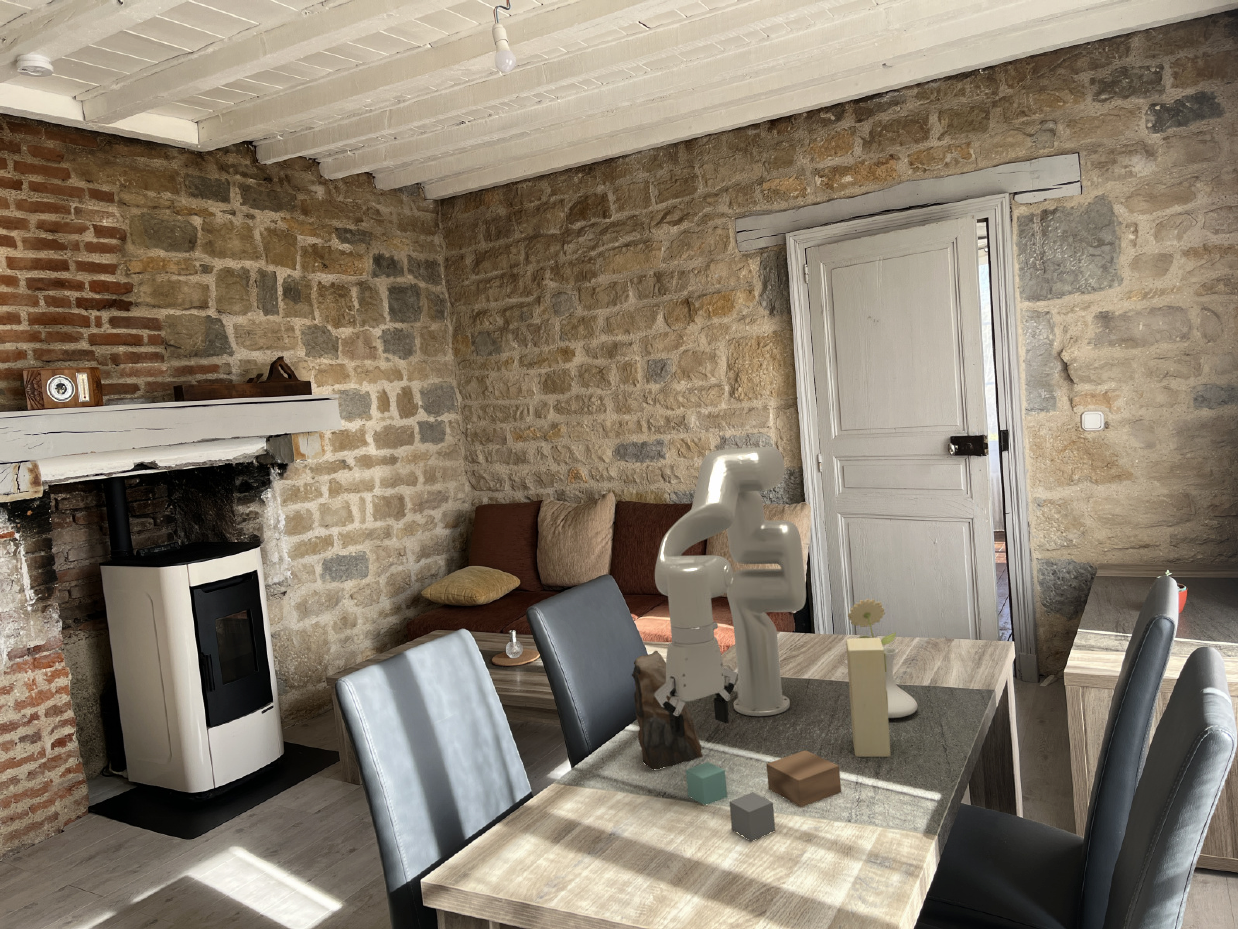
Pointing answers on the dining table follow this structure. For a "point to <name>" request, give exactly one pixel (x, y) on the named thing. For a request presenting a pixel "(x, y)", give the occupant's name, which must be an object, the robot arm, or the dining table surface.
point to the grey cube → (752, 816)
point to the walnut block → (803, 778)
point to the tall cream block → (868, 697)
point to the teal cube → (706, 783)
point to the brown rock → (660, 718)
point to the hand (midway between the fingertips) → (700, 728)
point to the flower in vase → (897, 698)
